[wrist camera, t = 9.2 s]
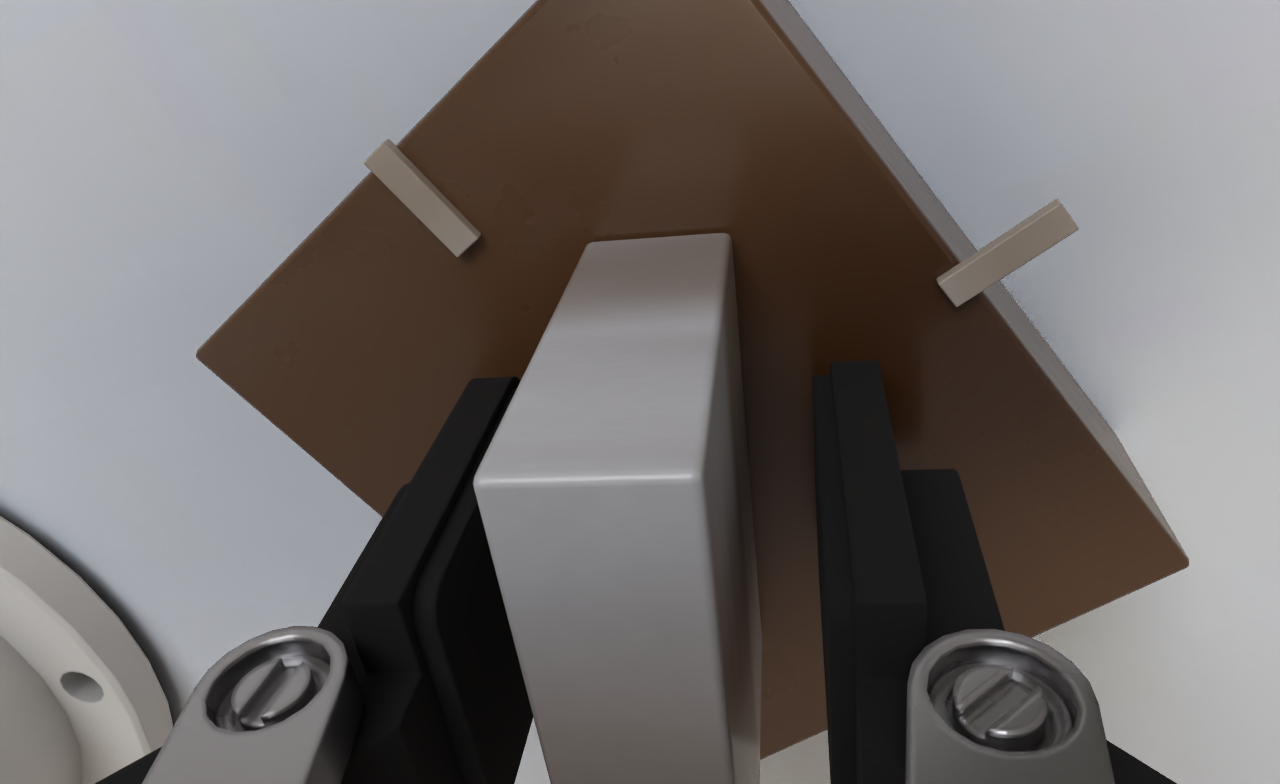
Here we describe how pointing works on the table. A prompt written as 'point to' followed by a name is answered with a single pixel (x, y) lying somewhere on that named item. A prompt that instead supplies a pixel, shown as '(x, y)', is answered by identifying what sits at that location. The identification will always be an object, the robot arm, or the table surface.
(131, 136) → the table surface
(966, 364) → the brown square base
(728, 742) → the white slab
